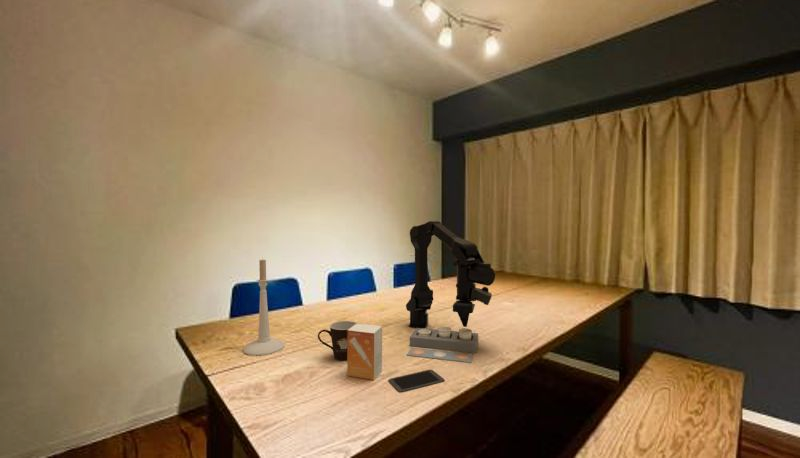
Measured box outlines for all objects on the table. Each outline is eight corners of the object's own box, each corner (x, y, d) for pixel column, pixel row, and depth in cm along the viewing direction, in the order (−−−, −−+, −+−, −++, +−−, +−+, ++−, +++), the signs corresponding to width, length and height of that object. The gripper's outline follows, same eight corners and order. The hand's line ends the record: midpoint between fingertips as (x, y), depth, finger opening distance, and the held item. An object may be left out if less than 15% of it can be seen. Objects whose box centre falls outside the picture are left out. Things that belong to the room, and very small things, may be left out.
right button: (457, 341, 116) (457, 332, 116) (459, 337, 120) (459, 327, 120) (471, 343, 115) (471, 333, 115) (472, 338, 119) (472, 329, 119)
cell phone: (446, 382, 93) (446, 379, 93) (399, 394, 87) (399, 391, 87) (431, 371, 100) (431, 368, 100) (387, 381, 94) (387, 379, 94)
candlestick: (236, 348, 116) (234, 258, 114) (273, 338, 125) (271, 255, 124) (253, 359, 107) (251, 262, 106) (291, 347, 116) (290, 258, 115)
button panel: (409, 345, 118) (409, 337, 118) (416, 335, 128) (416, 327, 127) (476, 353, 112) (476, 343, 112) (478, 341, 121) (478, 333, 121)
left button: (416, 341, 120) (416, 332, 120) (419, 337, 124) (419, 328, 124) (429, 343, 119) (429, 333, 119) (431, 338, 123) (431, 329, 123)
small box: (347, 376, 96) (346, 329, 95) (356, 366, 102) (356, 322, 101) (374, 380, 93) (374, 332, 93) (382, 370, 100) (382, 325, 99)
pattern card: (406, 355, 110) (406, 354, 110) (411, 348, 116) (411, 347, 116) (471, 362, 104) (471, 361, 104) (472, 355, 110) (472, 353, 110)
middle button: (437, 339, 118) (437, 330, 118) (439, 335, 122) (439, 326, 122) (450, 341, 117) (450, 331, 117) (451, 336, 121) (451, 327, 121)
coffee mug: (362, 353, 112) (362, 322, 111) (350, 364, 104) (350, 331, 103) (330, 348, 116) (330, 318, 115) (316, 359, 107) (315, 326, 107)
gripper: (489, 287, 106) (489, 338, 106) (491, 276, 124) (490, 320, 124) (452, 285, 109) (452, 335, 109) (459, 275, 127) (459, 317, 127)
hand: (465, 326), depth 118 cm, fingers closed
